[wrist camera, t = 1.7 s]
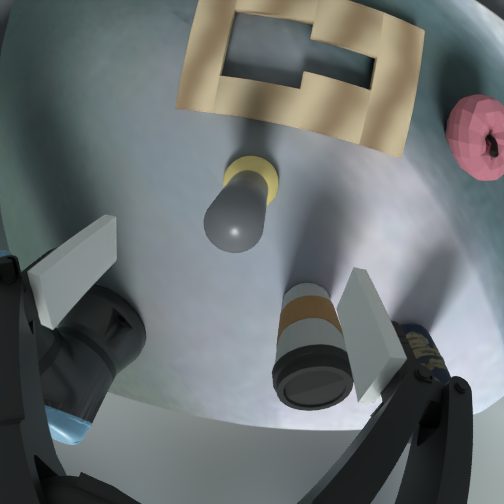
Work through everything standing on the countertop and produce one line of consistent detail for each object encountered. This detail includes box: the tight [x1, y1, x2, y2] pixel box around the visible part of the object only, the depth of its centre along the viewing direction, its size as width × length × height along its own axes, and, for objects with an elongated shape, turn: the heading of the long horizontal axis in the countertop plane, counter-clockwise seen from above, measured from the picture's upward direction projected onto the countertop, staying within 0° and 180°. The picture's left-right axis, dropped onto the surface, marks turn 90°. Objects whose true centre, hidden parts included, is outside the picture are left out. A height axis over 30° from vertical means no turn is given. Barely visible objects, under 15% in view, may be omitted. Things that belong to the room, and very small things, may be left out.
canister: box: [401, 324, 451, 443], centre depth 32 cm, size 10×10×18 cm
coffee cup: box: [272, 283, 354, 411], centre depth 31 cm, size 8×8×15 cm
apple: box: [445, 94, 504, 181], centre depth 22 cm, size 10×9×10 cm
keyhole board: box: [175, 0, 424, 158], centre depth 24 cm, size 24×16×3 cm, turn 79°
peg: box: [204, 155, 278, 253], centre depth 25 cm, size 6×6×14 cm
